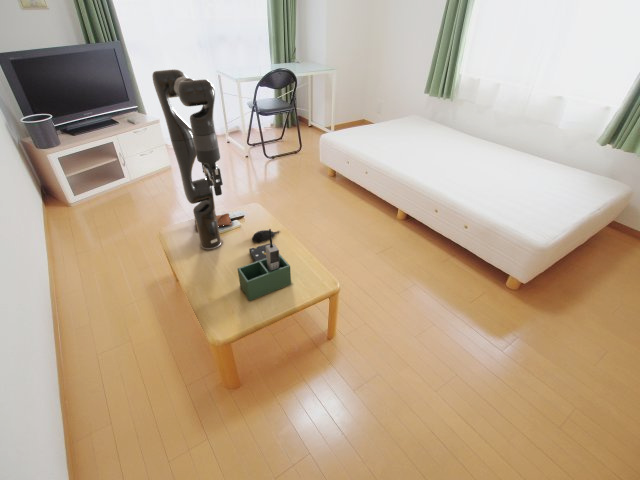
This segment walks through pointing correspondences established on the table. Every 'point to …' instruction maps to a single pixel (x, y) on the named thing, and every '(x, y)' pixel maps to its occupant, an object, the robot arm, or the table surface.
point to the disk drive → (258, 253)
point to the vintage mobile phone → (272, 256)
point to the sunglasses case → (221, 221)
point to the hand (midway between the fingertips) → (214, 190)
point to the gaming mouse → (262, 236)
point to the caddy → (263, 278)
